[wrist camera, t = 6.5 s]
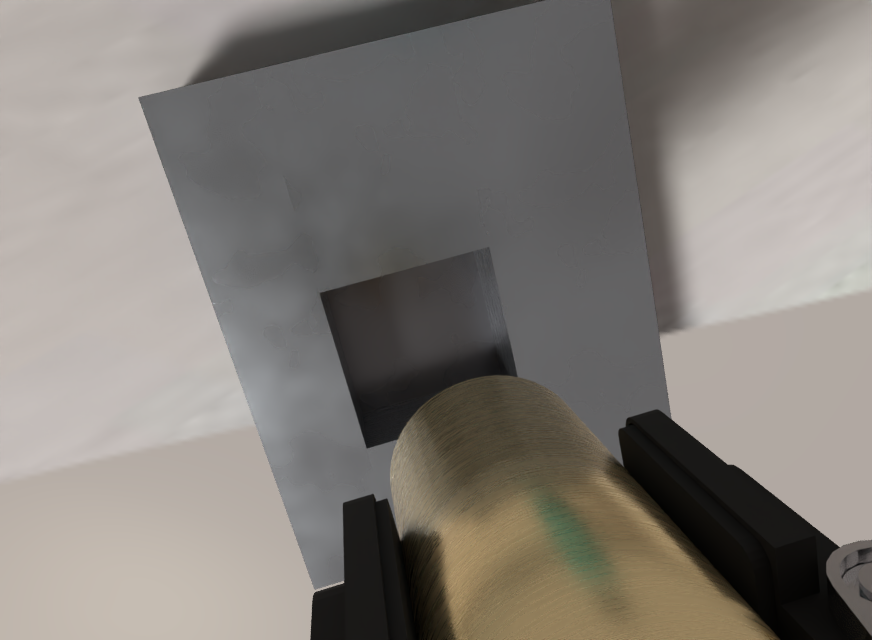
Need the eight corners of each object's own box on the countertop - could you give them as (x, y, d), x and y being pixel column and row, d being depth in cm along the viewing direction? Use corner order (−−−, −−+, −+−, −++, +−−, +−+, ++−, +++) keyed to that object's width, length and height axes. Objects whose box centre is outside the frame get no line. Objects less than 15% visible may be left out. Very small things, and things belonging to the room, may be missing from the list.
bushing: (366, 408, 13) (434, 983, 4) (567, 350, 13) (1043, 761, 4) (417, 582, 14) (558, 1313, 5) (601, 524, 14) (1024, 1122, 5)
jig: (316, 533, 26) (314, 589, 23) (168, 105, 21) (138, 97, 18) (636, 435, 27) (679, 475, 24) (566, 9, 22) (608, -15, 19)
